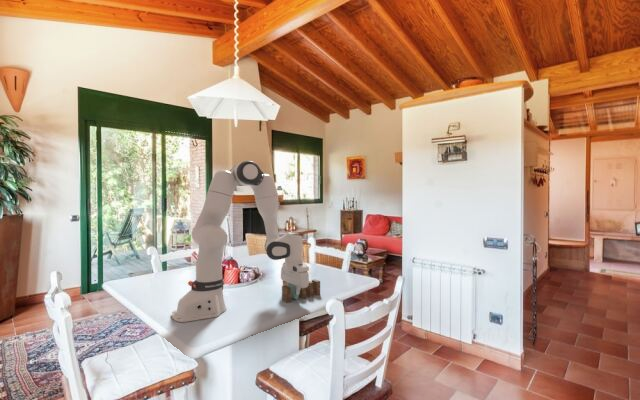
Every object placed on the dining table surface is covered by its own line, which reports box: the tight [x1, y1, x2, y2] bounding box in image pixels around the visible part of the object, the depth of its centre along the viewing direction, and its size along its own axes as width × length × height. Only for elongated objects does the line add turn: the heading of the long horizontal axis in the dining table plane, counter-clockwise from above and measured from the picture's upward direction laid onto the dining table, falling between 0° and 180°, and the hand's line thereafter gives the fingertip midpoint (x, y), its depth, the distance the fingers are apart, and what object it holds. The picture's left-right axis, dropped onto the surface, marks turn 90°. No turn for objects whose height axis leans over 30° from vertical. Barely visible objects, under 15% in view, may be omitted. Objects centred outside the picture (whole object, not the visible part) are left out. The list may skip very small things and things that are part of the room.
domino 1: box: [281, 285, 292, 303], centre depth 158 cm, size 2×4×7 cm, turn 37°
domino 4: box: [311, 279, 321, 296], centre depth 169 cm, size 2×4×7 cm, turn 37°
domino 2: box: [298, 288, 307, 300], centre depth 164 cm, size 2×4×7 cm, turn 37°
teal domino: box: [290, 284, 300, 300], centre depth 161 cm, size 2×4×7 cm, turn 38°
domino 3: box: [306, 280, 314, 298], centre depth 166 cm, size 2×4×7 cm, turn 37°
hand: (294, 292), depth 161 cm, fingers closed on teal domino, 4 cm apart
